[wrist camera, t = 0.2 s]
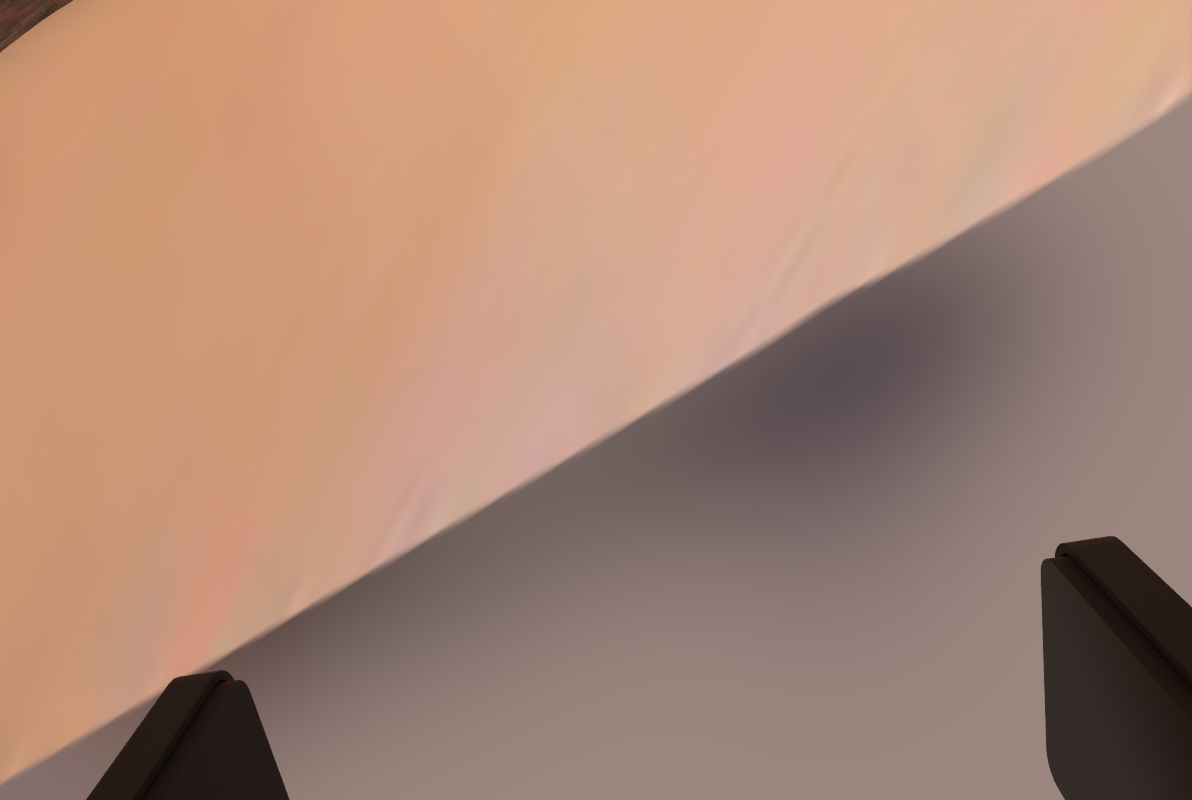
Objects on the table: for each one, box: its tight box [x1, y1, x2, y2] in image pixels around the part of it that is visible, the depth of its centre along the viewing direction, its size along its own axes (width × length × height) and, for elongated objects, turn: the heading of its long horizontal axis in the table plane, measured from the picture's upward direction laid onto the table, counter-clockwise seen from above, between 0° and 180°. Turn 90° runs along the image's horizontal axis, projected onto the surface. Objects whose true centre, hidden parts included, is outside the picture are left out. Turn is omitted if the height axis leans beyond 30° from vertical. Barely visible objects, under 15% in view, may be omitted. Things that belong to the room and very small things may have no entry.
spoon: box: [0, 0, 73, 52], centre depth 37 cm, size 11×33×3 cm, turn 122°
